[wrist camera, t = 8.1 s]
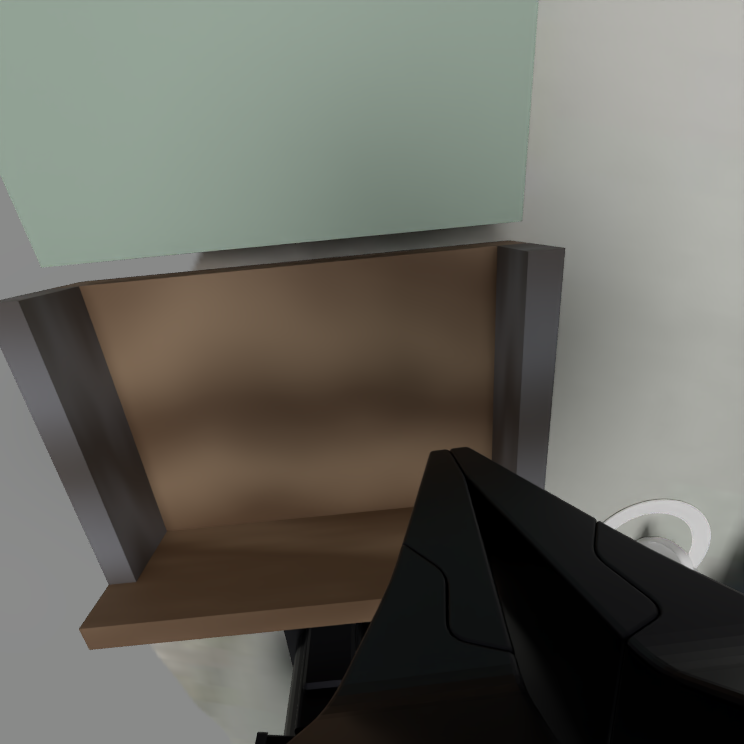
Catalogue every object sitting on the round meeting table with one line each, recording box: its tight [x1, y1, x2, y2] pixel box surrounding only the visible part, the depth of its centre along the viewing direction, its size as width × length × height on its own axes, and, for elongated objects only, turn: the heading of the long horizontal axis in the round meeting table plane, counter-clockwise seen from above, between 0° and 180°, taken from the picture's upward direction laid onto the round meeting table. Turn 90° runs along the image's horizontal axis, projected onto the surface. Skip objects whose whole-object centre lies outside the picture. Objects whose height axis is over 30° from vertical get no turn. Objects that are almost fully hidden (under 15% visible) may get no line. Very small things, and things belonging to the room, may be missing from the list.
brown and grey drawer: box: [0, 241, 565, 650], centre depth 17 cm, size 14×19×7 cm
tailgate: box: [0, 0, 539, 267], centre depth 13 cm, size 2×18×10 cm
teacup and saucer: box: [603, 499, 711, 573], centre depth 23 cm, size 9×8×4 cm
